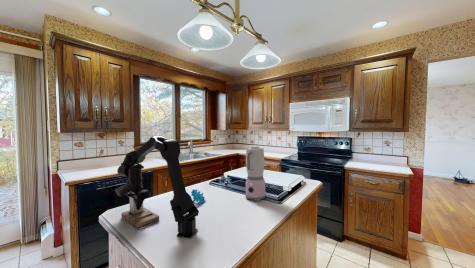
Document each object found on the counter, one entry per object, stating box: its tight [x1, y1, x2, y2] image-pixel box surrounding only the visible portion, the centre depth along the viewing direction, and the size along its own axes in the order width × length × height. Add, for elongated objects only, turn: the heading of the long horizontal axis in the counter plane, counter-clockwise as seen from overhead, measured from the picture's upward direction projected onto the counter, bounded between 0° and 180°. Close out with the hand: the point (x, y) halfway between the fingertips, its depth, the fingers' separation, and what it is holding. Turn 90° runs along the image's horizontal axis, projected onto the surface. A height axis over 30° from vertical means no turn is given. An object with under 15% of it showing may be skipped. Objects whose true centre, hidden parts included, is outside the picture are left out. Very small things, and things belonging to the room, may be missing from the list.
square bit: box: [128, 196, 144, 215], centre depth 95 cm, size 4×4×8 cm
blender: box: [245, 145, 266, 202], centre depth 117 cm, size 16×12×32 cm
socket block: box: [121, 206, 160, 230], centre depth 93 cm, size 18×10×2 cm, turn 50°
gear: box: [190, 189, 206, 204], centre depth 113 cm, size 11×6×10 cm
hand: (136, 208), depth 95 cm, fingers closed on square bit, 4 cm apart
